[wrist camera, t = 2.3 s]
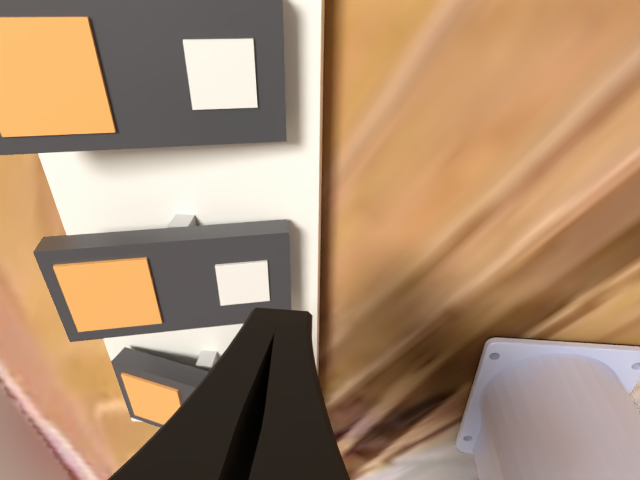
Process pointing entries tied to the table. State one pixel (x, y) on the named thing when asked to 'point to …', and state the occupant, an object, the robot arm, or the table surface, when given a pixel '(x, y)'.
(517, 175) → the table surface
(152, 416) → the rocker far
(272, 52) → the rocker near
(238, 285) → the rocker middle
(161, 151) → the switch strip
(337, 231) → the table surface
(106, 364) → the table surface
